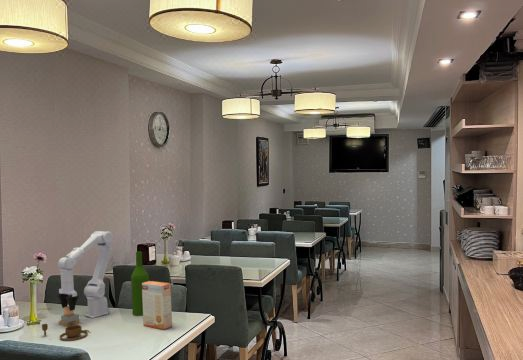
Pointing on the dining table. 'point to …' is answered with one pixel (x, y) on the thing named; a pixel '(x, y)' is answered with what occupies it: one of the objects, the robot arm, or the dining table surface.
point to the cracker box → (157, 304)
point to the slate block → (70, 318)
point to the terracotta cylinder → (68, 311)
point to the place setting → (69, 332)
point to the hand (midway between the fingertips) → (68, 308)
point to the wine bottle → (138, 285)
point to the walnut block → (69, 323)
